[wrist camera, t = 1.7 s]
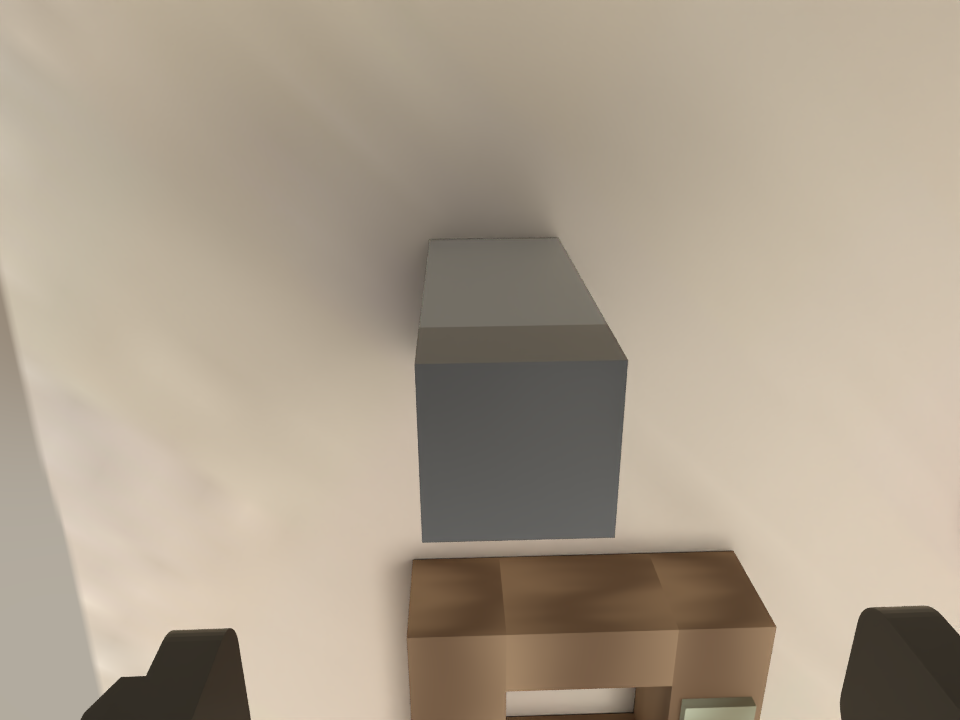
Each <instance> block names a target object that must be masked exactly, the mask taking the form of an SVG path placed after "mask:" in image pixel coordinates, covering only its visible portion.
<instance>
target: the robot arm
mask: <svg viewBox="0 0 960 720" xmlns="http://www.w3.org/2000/svg"><path fill="white" fill-rule="evenodd" d="M840 712H841V719H842V720H960V635H959V634H958V633H957V632H956V631H955V630H954V628H953V627H952V626H951V625H950V624H949V623H948V622H947V621H946V620H945V618H944V617H943V616H942V615H941V614H940V613H939V612H938V611H936V610H935V609H933V608H931V607H929V606H902V607H874V608H867V609H865V610H864V611H863V612H862V613H861V615H860V617H859V620H858V623H857V628H856V632H855V636H854V640H853V645H852V649H851V653H850V658H849V662H848V666H847V670H846V675H845V679H844V683H843V688H842V692H841V698H840ZM81 720H251V718H250V711H249V705H248V699H247V693H246V686H245V680H244V674H243V668H242V662H241V656H240V649H239V643H238V638H237V635H236V633H235V631H234V630H233V629H231V628H226V629H198V630H173V631H170V632H169V633H168V634H167V635H166V637H165V638H164V640H163V642H162V644H161V646H160V648H159V650H158V652H157V654H156V656H155V658H154V660H153V662H152V665H151V667H150V669H149V671H148V673H147V675H146V676H137V677H121V678H120V679H119V680H118V681H117V682H116V683H115V684H113V685H112V686H111V687H110V688H109V689H108V690H107V691H106V692H105V693H104V694H103V695H102V696H101V697H100V698H99V699H98V700H97V701H96V702H95V703H94V704H93V705H92V706H91V707H90V708H89V709H88V710H87V711H86V712H85V713H84V714H83V716H82V718H81Z"/></svg>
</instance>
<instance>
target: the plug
mask: <svg viewBox="0 0 960 720" xmlns="http://www.w3.org/2000/svg"><path fill="white" fill-rule="evenodd" d="M627 366H628V359H627V358H626V356H625V354H624V352H623V351H622V349H621V347H620V345H619V344H618V342H617V340H616V338H615V337H614V335H613V333H612V331H611V330H610V328H609V326H608V324H607V322H606V321H605V319H604V317H603V315H602V314H601V312H600V310H599V308H598V307H597V305H596V303H595V301H594V300H593V298H592V296H591V294H590V293H589V291H588V289H587V287H586V286H585V284H584V282H583V280H582V279H581V277H580V275H579V273H578V272H577V270H576V268H575V266H574V265H573V263H572V261H571V259H570V258H569V256H568V254H567V252H566V251H565V249H564V247H563V245H562V243H561V242H560V240H559V238H505V239H434V240H429V249H428V257H427V265H426V274H425V282H424V290H423V299H422V307H421V315H420V324H419V332H418V340H417V349H416V357H415V384H416V407H417V431H418V454H419V477H420V501H421V524H422V543H426V542H465V541H503V540H542V539H580V538H615V526H616V513H617V499H618V486H619V473H620V459H621V446H622V432H623V419H624V406H625V392H626V379H627Z"/></svg>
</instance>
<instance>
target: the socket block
mask: <svg viewBox="0 0 960 720" xmlns="http://www.w3.org/2000/svg"><path fill="white" fill-rule="evenodd" d="M775 632H776V625H775V624H774V622H773V620H772V618H771V616H770V615H769V613H768V611H767V609H766V608H765V606H764V604H763V602H762V601H761V599H760V597H759V595H758V593H757V592H756V590H755V588H754V586H753V585H752V583H751V581H750V579H749V577H748V576H747V574H746V572H745V570H744V569H743V567H742V565H741V563H740V562H739V560H738V558H737V556H736V554H735V553H734V551H722V552H685V553H648V554H611V555H574V556H537V557H500V558H463V559H426V560H413V564H412V578H411V591H410V604H409V617H408V630H407V650H408V668H409V686H410V704H411V720H759V719H760V714H761V708H762V703H763V697H764V692H765V687H766V681H767V676H768V670H769V665H770V659H771V654H772V648H773V643H774V637H775ZM628 687H636V693H635V703H634V713H619V714H589V715H559V716H529V717H506V691H535V690H566V689H597V688H628Z"/></svg>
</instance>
